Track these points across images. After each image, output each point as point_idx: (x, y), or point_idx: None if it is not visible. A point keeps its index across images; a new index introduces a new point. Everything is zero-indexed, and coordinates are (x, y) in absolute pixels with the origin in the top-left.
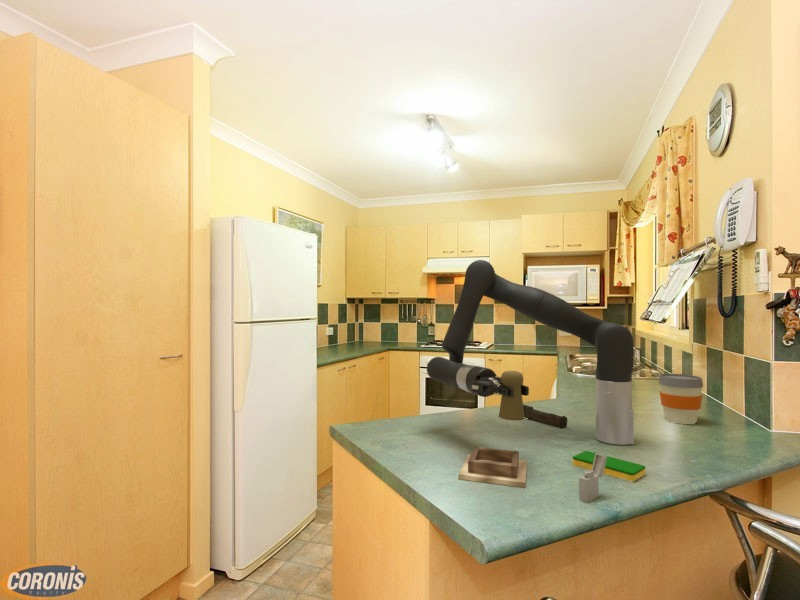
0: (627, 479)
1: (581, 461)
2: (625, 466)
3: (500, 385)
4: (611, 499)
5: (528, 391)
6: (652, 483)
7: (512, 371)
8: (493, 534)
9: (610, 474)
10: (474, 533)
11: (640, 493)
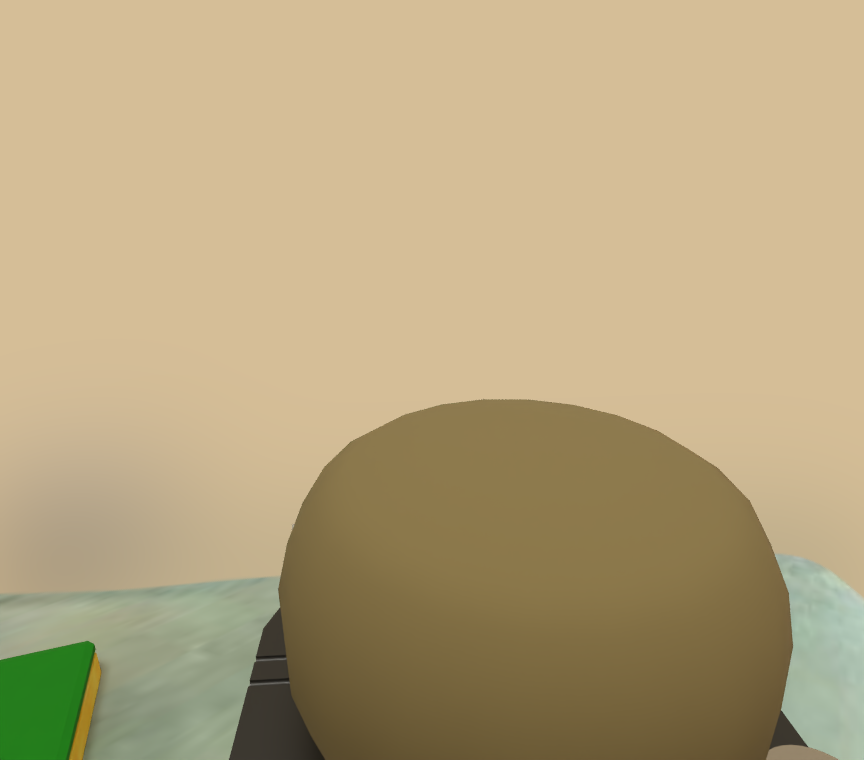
0: (96, 681)
1: None
2: (14, 695)
3: (775, 754)
4: None
5: None
6: (57, 640)
7: (540, 428)
8: (796, 580)
9: (83, 744)
10: (854, 595)
11: (201, 606)
